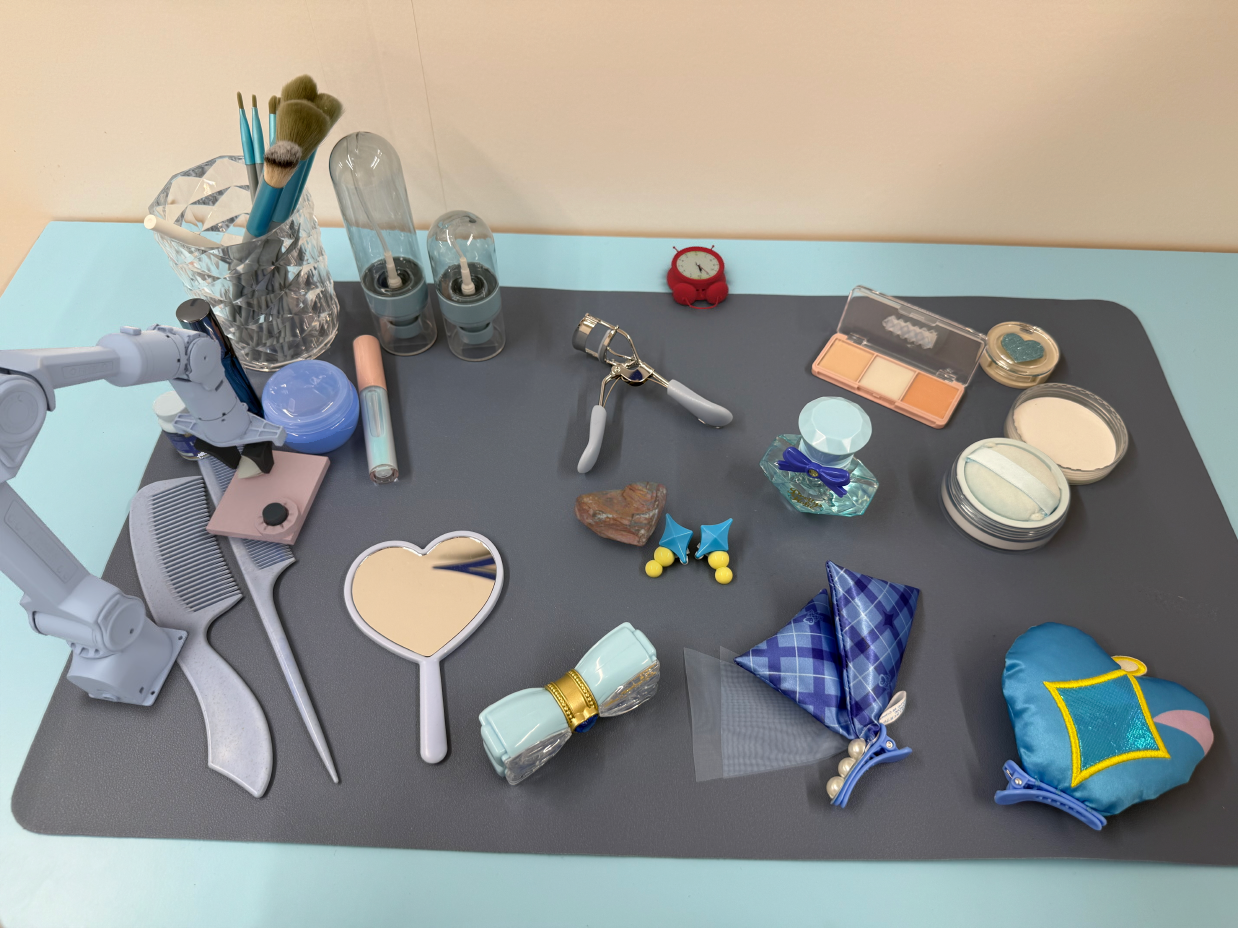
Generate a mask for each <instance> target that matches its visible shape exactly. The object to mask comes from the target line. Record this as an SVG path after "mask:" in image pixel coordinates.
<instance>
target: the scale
mask: <svg viewBox="0 0 1238 928" xmlns="http://www.w3.org/2000/svg"><path fill="white" fill-rule="evenodd" d="M272 452H273V459H274V465H273V467H272V469H271V471H270V473H269V474H265V473H263V474H261V475H259V476H254V477H248V478H241V479H239V478H238V468H237V469H236V470H235V473H234V475H233V476H232V479H230V482H229V484H228V486H227V487H226V490H225V491H224V493H223V495H222V497H221V499H220V501H219V503H218V505H217V507H216V508H215V511H214V512H213V514H212V516H211V518H210V519H209V521H208V523H207V526H206V527H205V530H206V531H207V532H208V533H209V534H211V535H215V536H216V535H217V536H225V537H231V538H239V539H240V538H241V539H246V540H247V539H248V540H255V541H261V542H269V543H277V544H284V545H291V546H293V545H295V543H296V541H297V538H298V536H299V534H300V532H301V529H302V527H303V526H304V523H305V521H306V519H307V516H308V514H309V512H310V509H311V507H312V505H313V503H314V501H315V498H316V496H317V494H318V491H319V489H320V487H321V486H322V483H323V480H324V479H325V476H326V474H327V471H328V469H329V467H330V465H331V461H330V458H329V457H328V456H323V455H322V456H321V455H314V454H307V453H297V452H291V451H290V452H288V451H282V450H273V449H272ZM274 502H277V503H280V504H282V505H283V507H284V508H285V510H286V511H287V518H286V520H285V521H284V522H283V523H282V524H280V525H276V526H272V525H269V524H268V523H267V522H266V520H265V519H264V517H263V516H262V511H263V509H264V508H265V507H266V506H267V505H268V504H270V503H274Z"/></svg>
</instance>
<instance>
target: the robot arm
mask: <svg viewBox="0 0 1238 928" xmlns="http://www.w3.org/2000/svg"><path fill="white" fill-rule="evenodd" d="M220 345H221V344H220V342H219V340H218V339H212V337H211V336H210V335H208V334H207V333H205V332H201V331H198V330H197V331H196V330H193V329H192V330H191V329H186V328H183V327H182V328H181V327H177V326H172V325H166V324H164V325H163V324H158V323H153V324H151V325H150V326H148V327H147V328H146V329H145V330H142V328H141V327H135V326H132V325H131V326H130V325H125V326H120V327H119V332H111V333H107V334H105V335H103V336H102V337H100V338H99V340H98V341H97V342H96V344H95V345H93V346H69V347H68V346H67V347H44V348H43V347H41V348H17V349H16V348H15V349H0V572H1V573H2V574H3V575H5V576H6V578H8V579H9V580H10V581H11V582H12V583H13V584H14V585H15V586H16V587H17V588H18V589H20V590H21V592H23V594H22V597H21V599H20V600H19V602H18V604H19V606H21V607H22V608H23V610H24V611H25V612H26V615H27V619H28V623H29V626H30V629H31V630H32V631H33V632H34V633H36V634H38V635H41V636H45V637H47V636H49V637H54V638H57V639H61V640H63V641H64V640H65V642H66V643H67V645H68V646H69V648H70V649H71V650H72V661H71V663H70V668H69V670H68V672H67V674H66V679H67V680H68V681H69V682H70V683H71V684H73V685H75V686H76V687H78V688H80V689H81V690H83V691H84V692H86V693H88V696H89V697H90V698H92V699H97V700H98V699H99V700H103V701H104V700H105V701H110V702H114V703H115V702H116V703H117V702H118V703H123V704H129V705H130V704H131V705H137V706H145V707H151V706H152V705H154V703H155V701H156V699H157V698H158V696H159V694H160V692H161V689H162V687H163V685H164V683H165V681H166V680H167V678H168V675H169V674H170V671H171V670H172V668H173V666H174V664H175V661H176V659H177V657H178V656H179V653H180V651H181V650H182V647H183V646H184V643H185V641H186V640H187V637H188V635H189V634H188V632H187V631H186V630H183V629H175V628H168V627H160V626H158V625H157V624H156V623H154V622H153V621H152V620H151V619H150V617H149V618H148V616H147V611H146V606H145V603H144V601H143V600H142V599H141V598H140V597H138V596H135V595H131V594H125V593H124V592H123V591H122V590H121V589H120V588H119V587H118V586H116V585H114V584H112V583H110V582H108V581H107V580H104V579H102V578H101V577H98V576H97V575H95V574H93V573H91V572H90V570H88V569H87V567H85V566H84V565H83V563H82V562H81V561H79V559H78V558H77V557H76V556H75V555H74V554H73V553H72V552H71V551H70V549H69V548H68V547H67V546H66V545H65V544H64V543H63V542H62V540H61V539H60V538H59V537H58V536H57V535H56V534H55V533H54V532H53V531H52V530H51V529H50V527H48V525H47V524H46V523H45V522H44V520H42V518H41V517H40V516H38V514H36V512H35V511H34V510H33V509H32V508H31V507H30V506H29V505H28V503H27V502H26V501H25V500H24V499H23V497H21V495H19V493H18V492H17V491H16V490H15V489H14V488H13V487H12V486H11V485H10V484H9V481H10V480H12V479H14V478H16V477H17V475H18V473H19V472H20V469H21V468H22V466H23V464H24V462H25V460H26V458H27V456H28V454H29V453H30V451H31V449H32V447H33V445H34V443H35V442H36V439H37V438H38V436H39V434H40V432H41V430H42V428H43V426H44V424H45V421H46V418H47V412H51V413H53V412H54V411H55V410H56V408H57V407H56V406H57V399H56V393H55V390H58V389H62V388H67V387H71V386H78V385H81V384H87V383H92V382H97V381H100V380H101V381H103V380H104V381H105V382H106V383H108V384H110V385H112V386H115V387H116V388H117V387H118V388H127V387H133V386H140V385H147V384H153V383H161V382H167V381H168V383H169V384H170V386H171V387H172V389H173V391H176V393H177V394H178V396H179V397H180V399H181V400H182V402H183V403H184V404H185V406H186V407H187V409H188V410H189V412H190V413H191V414H180V413H179V414H178V415H177V417H176V419H175V420H174V422H173V423H172V426H173V427H174V428H175V430H176V431H177V432H178V433H179V434H186V433H187V432H189V433H191V434H193V435H195V436H196V438H197V439H196V441H195V443H194V448H195V449H196V450H198V451H201V452H204V453H207V454H209V455H210V456H211V457H213V458H215V459H216V460H217V461H219V462H221V463H222V464H223V465H225V466H226V467H228V469H231V470H234V471H237V469H238V466H239V462H240V460H241V458H242V456H245V457H247V458H249V459H251V460H252V461H253V462H254V463H255V464H256V465H257V466H258V468H259V469H260V470H261V471H262V472H263V473H265V474H269V473H270V471H271V469H272V467H273V465H274V459H273V452H272V450H273V444H274V446H276V447H283V445H284V444H285V442H286V439H287V438H288V435H289V434H288V433H287V431H286V429H285V427H284V425H279V424H276V423H272V422H270V421H268V420H266V419H264V418H262V417H260V416H258V415H256V414H254V413H252V412H251V411H248V409H249V406H248V404H247V403H246V402H241V401H240V398H239V397H238V395H237V394H236V391H235V390H234V388H233V387H232V385H231V384H230V382H229V380H228V379H227V376H226V373H225V370H226V369H225V367H224V366H223V363H222V351H221V346H220ZM241 445H244V446H243V448H242V450H241V452H240V449H239V447H238V446H241Z"/></svg>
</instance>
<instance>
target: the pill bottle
mask: <svg viewBox="0 0 1238 928" xmlns="http://www.w3.org/2000/svg"><path fill="white" fill-rule="evenodd" d="M152 411H153V412H154V414H155V416H156V418H157V422H158V425H159V427H160V429H161V430H162V431H163V433H164V434H165V436H166V437H167V438H168V440H169V441H170V442H171V444H172V445H173V447H174V448H175V449H176V451H177V452H178V454H179V455H180V456H181V457H182V458H184V459H186V460H188V461H200V460H204V459H206V458H209V457H210V456H211V455H209V454H205V455H203V456H200V457H201V459H200V458H199V457H197V456H198V454H200V453H201V451H198V450H196V449H195V448H194V443H195V441H196V439H197V438H196V436H195V435H193V434H191V433H189V432H187V433H186V434H179V433H178V432H177V431H176V430H175V428H174V427H173V426H172V423H173V422H174V420H175V419H176V417H177V415H178V414H179V413H180V414H191V413H190V412H189V410H188V409H187V407H186V406H185V404H184V403H183V402H182V400H181V399H180V397H179V396H178V394H177V393H176V391H175V390H170V391H165V392H163V393H161V394H160V395H158V396H157V397H156V398H155V400H154V401H153V404H152ZM202 457H203V458H204V459H203V458H202Z"/></svg>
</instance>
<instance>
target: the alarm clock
mask: <svg viewBox="0 0 1238 928" xmlns="http://www.w3.org/2000/svg"><path fill="white" fill-rule="evenodd" d="M713 248H715V245H714V244H712V245H711V248H709V247H706V246H700V245H695V246H694V245H693V246H687V247H685V248H682V249H680V250H679V249H677V248H676V246H675V245H673V246H672V249H674V250H675V251H676V253H675V254H674V255H673V257H672V258H671V262H670V264H671V265H670V267H669V268H668V271H667V273H666V284H667V286H668V287H669V289H670V290H671V291H672V297H673V299H674V301H675V302H676V303H677V304H680V305H682V306H689V307H690V308H692V309H695V310H709V309H713V308H715V307H717V305H718V304H720V303H721V302H723V301H724V300H726V298H727V296H728V295H729V286H728V284H727V283H726V282H727V278H726V274H725V268H726V267H725V261H724V259H723V257H722V256H721V255H720V254H719V253H718V252H717V251H715V250H714V249H713ZM705 300H706V301H707V302H708V303H709V304H711V306H708V307H707V306H706V307H697V306H693V305H692V304H694V303H695V301H705ZM712 304H713V305H712Z"/></svg>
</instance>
